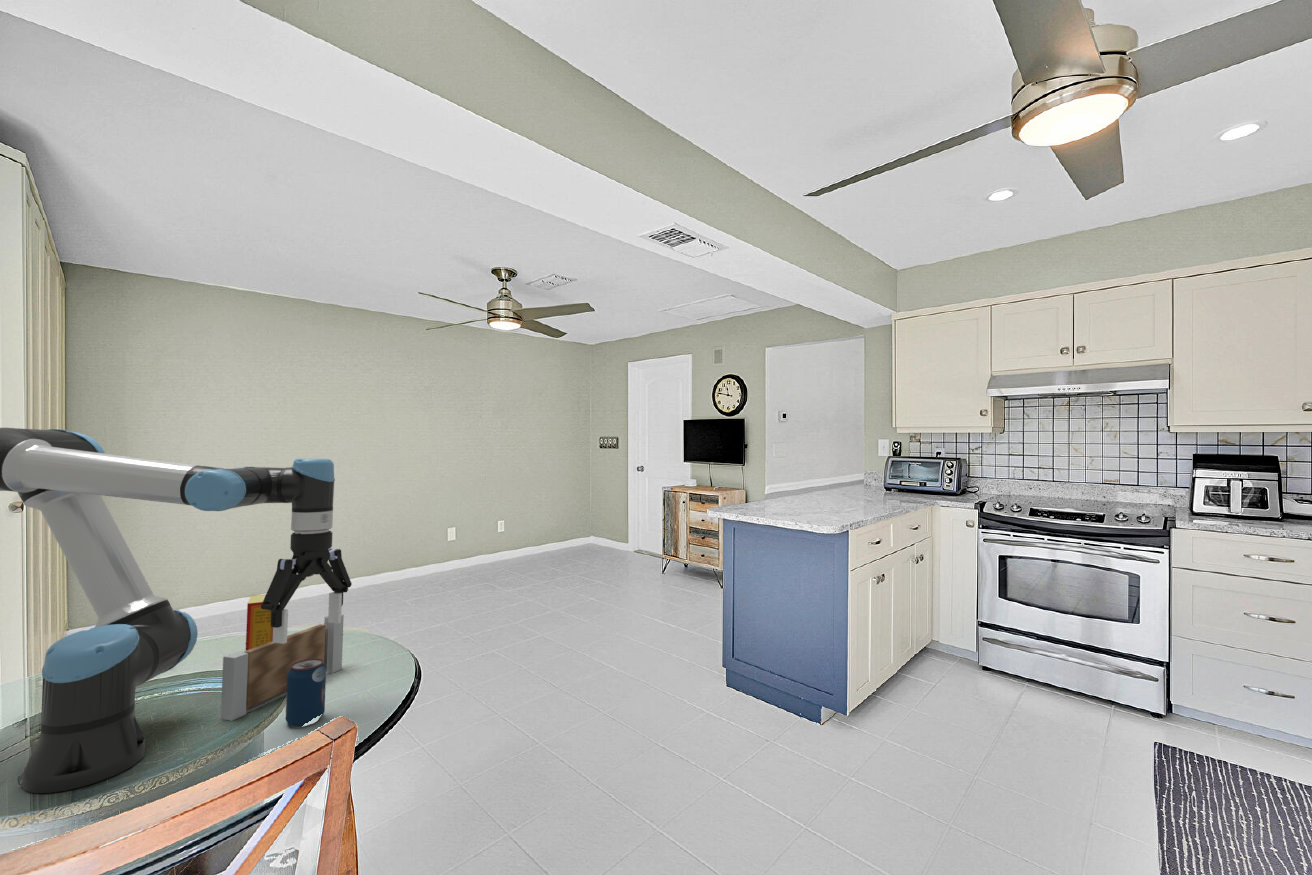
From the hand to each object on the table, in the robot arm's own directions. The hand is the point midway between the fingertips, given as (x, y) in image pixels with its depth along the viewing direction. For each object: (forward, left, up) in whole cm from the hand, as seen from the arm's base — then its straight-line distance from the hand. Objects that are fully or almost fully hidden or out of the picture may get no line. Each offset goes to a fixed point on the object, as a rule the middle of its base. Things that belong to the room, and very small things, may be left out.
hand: (308, 632), depth 116 cm
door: (+11, +17, -18) cm, 27 cm away
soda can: (0, 0, -19) cm, 19 cm away
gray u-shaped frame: (+10, +16, -18) cm, 27 cm away
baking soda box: (+27, +43, -19) cm, 54 cm away
